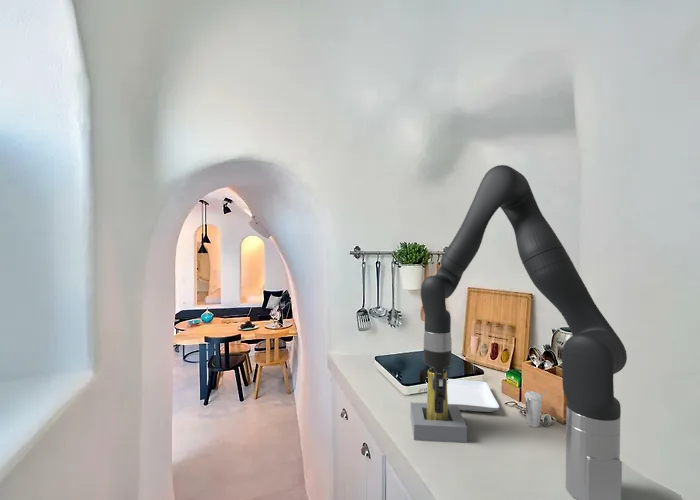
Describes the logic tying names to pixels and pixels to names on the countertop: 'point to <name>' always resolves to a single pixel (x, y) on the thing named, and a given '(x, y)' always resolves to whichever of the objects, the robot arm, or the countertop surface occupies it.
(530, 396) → the milkshake
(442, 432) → the block
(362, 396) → the countertop surface
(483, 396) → the salad plate
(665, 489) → the countertop surface
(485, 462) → the countertop surface
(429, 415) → the vase
